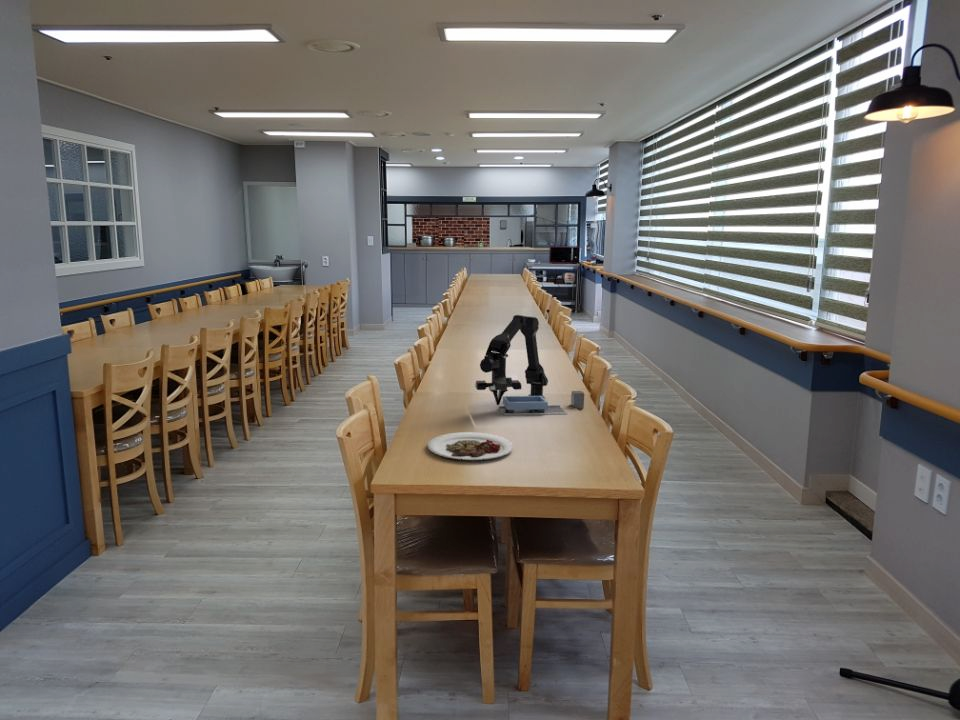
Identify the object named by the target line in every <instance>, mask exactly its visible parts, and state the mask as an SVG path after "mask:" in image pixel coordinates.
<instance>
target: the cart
mask: <svg viewBox="0 0 960 720" xmlns="http://www.w3.org/2000/svg"><path fill="white" fill-rule="evenodd" d="M502 404H503V406H505V407H506V409H507V410H509V412H510V413H514V410H528V409H540V410H539V411H540V412H541V413H544V412H545V410H544V409H547V406H548V401H547V400H546V398H543V397H542V396H528V395H503V396H502Z"/></svg>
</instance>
